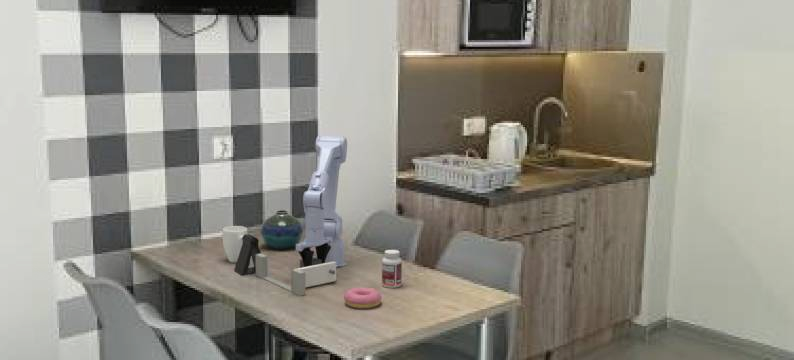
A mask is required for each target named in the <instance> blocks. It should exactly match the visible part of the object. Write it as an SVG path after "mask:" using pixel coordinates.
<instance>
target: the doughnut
mask: <svg viewBox="0 0 794 360" xmlns="http://www.w3.org/2000/svg"><path fill="white" fill-rule="evenodd" d="M343 299H344V302H345V304H346V305H347V306H349V307H351V308H354V309H358V310H359V309H372V308H376V307H377V306H378V305H380V304H381V300H382V294H381V293H380V291H379V290H377V289H376V288H373V287H367V286H366V287H364V286H363V287H354V288H349V289H348V290H347V291H346V292H345V293H344V295H343Z"/></svg>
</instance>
